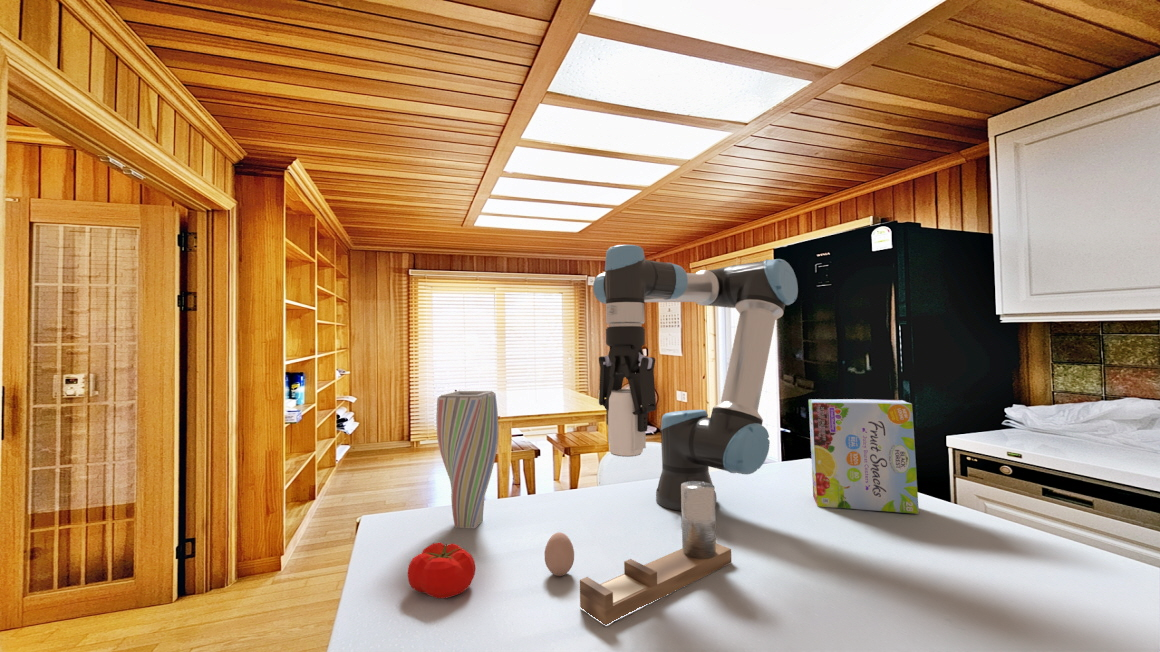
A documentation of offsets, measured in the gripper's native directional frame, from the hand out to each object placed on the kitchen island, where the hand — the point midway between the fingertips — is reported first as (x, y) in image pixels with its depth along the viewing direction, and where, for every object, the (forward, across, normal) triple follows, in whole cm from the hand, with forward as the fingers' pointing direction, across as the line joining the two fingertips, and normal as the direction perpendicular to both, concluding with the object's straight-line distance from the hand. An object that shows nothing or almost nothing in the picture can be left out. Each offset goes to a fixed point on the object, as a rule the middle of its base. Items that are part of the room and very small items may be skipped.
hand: (626, 445), depth 92 cm
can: (+2, 0, 0) cm, 2 cm away
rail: (+21, +11, -2) cm, 24 cm away
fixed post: (+19, +10, +8) cm, 23 cm away
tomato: (+22, -12, -32) cm, 40 cm away
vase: (+22, -36, -16) cm, 45 cm away
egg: (+22, -3, -14) cm, 26 cm away
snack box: (+21, +16, +64) cm, 69 cm away
